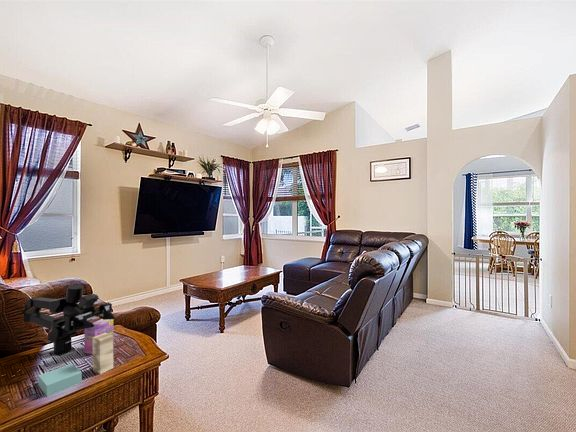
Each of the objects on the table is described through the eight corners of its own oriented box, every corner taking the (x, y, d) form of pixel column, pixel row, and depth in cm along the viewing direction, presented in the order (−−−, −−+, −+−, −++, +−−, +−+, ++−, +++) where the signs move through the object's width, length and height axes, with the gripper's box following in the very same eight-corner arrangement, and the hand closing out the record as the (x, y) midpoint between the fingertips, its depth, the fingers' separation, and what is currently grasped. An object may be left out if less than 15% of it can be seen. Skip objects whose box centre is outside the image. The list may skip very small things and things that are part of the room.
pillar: (92, 370, 113) (92, 337, 113) (105, 364, 118) (105, 332, 118) (100, 374, 111) (100, 340, 111) (113, 367, 116) (113, 335, 115)
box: (95, 354, 126) (95, 327, 126) (84, 353, 127) (83, 326, 127) (114, 343, 136) (113, 318, 136) (103, 342, 137) (103, 317, 137)
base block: (47, 397, 98) (46, 385, 98) (38, 386, 104) (38, 375, 104) (81, 383, 106) (81, 372, 106) (72, 374, 112) (71, 363, 112)
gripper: (56, 299, 116) (84, 310, 111) (100, 287, 134) (125, 296, 129) (53, 326, 117) (80, 338, 112) (97, 311, 134) (122, 320, 129)
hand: (104, 321), depth 120 cm, fingers open, 9 cm apart
